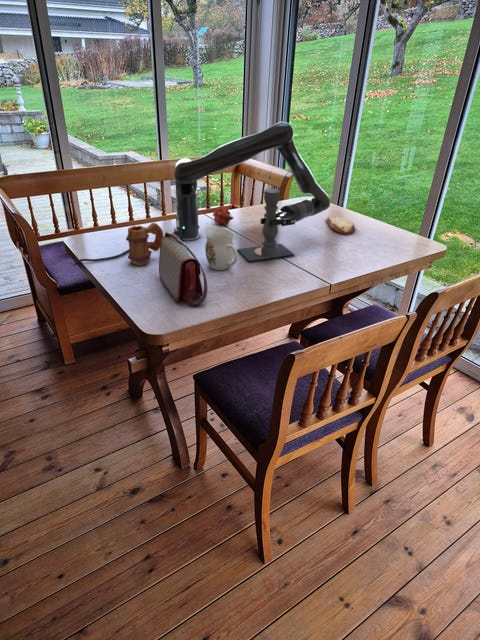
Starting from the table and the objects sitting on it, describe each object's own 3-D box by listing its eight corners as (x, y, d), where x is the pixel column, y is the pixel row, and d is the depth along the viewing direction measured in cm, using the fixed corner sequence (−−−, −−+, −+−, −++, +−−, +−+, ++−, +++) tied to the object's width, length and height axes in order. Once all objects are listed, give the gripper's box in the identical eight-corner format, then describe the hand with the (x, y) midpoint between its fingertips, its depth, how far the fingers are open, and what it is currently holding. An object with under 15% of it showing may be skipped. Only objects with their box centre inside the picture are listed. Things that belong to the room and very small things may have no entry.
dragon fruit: (217, 222, 226) (228, 232, 218) (205, 214, 220) (216, 225, 212) (227, 207, 224) (239, 218, 216) (215, 199, 218) (227, 210, 210)
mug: (131, 268, 173) (127, 231, 165) (125, 261, 179) (121, 224, 171) (167, 262, 179) (165, 225, 171) (161, 254, 185) (158, 219, 177)
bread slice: (329, 218, 229) (330, 211, 227) (363, 225, 220) (364, 218, 218) (313, 227, 216) (313, 220, 214) (347, 236, 207) (349, 228, 205)
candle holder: (275, 258, 175) (279, 193, 162) (259, 256, 176) (262, 192, 163) (277, 252, 180) (281, 189, 167) (262, 250, 181) (264, 187, 168)
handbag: (212, 305, 149) (211, 256, 140) (181, 311, 145) (178, 261, 136) (184, 272, 171) (182, 228, 162) (157, 277, 167) (153, 231, 158)
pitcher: (225, 279, 166) (225, 243, 159) (196, 263, 178) (194, 230, 171) (247, 271, 173) (248, 236, 165) (217, 256, 184) (217, 224, 177)
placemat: (249, 262, 180) (249, 260, 179) (237, 250, 190) (237, 248, 190) (293, 255, 186) (294, 254, 186) (280, 244, 197) (280, 243, 196)
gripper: (280, 199, 182) (251, 208, 171) (309, 207, 174) (280, 217, 163) (279, 217, 186) (251, 227, 175) (307, 226, 178) (279, 237, 167)
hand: (265, 222), depth 169 cm, fingers closed on candle holder, 3 cm apart
